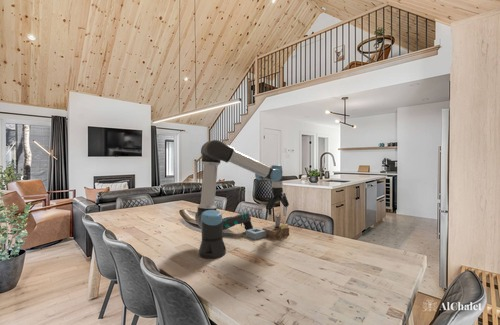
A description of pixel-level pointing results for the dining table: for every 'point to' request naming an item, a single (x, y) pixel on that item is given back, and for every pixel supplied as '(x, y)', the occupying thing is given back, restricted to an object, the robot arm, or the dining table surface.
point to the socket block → (276, 232)
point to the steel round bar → (277, 221)
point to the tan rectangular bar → (283, 226)
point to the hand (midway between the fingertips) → (278, 217)
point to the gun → (238, 221)
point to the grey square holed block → (256, 233)
